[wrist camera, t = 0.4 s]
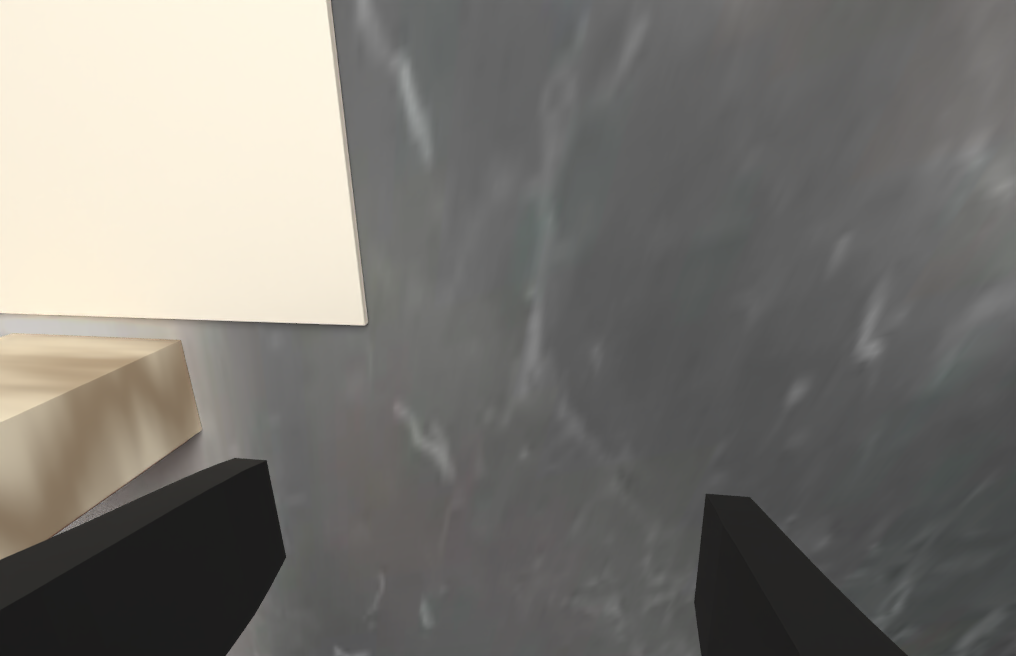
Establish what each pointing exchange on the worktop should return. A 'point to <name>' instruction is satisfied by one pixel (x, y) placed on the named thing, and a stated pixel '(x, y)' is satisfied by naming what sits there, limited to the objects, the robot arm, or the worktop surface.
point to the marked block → (83, 424)
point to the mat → (176, 162)
